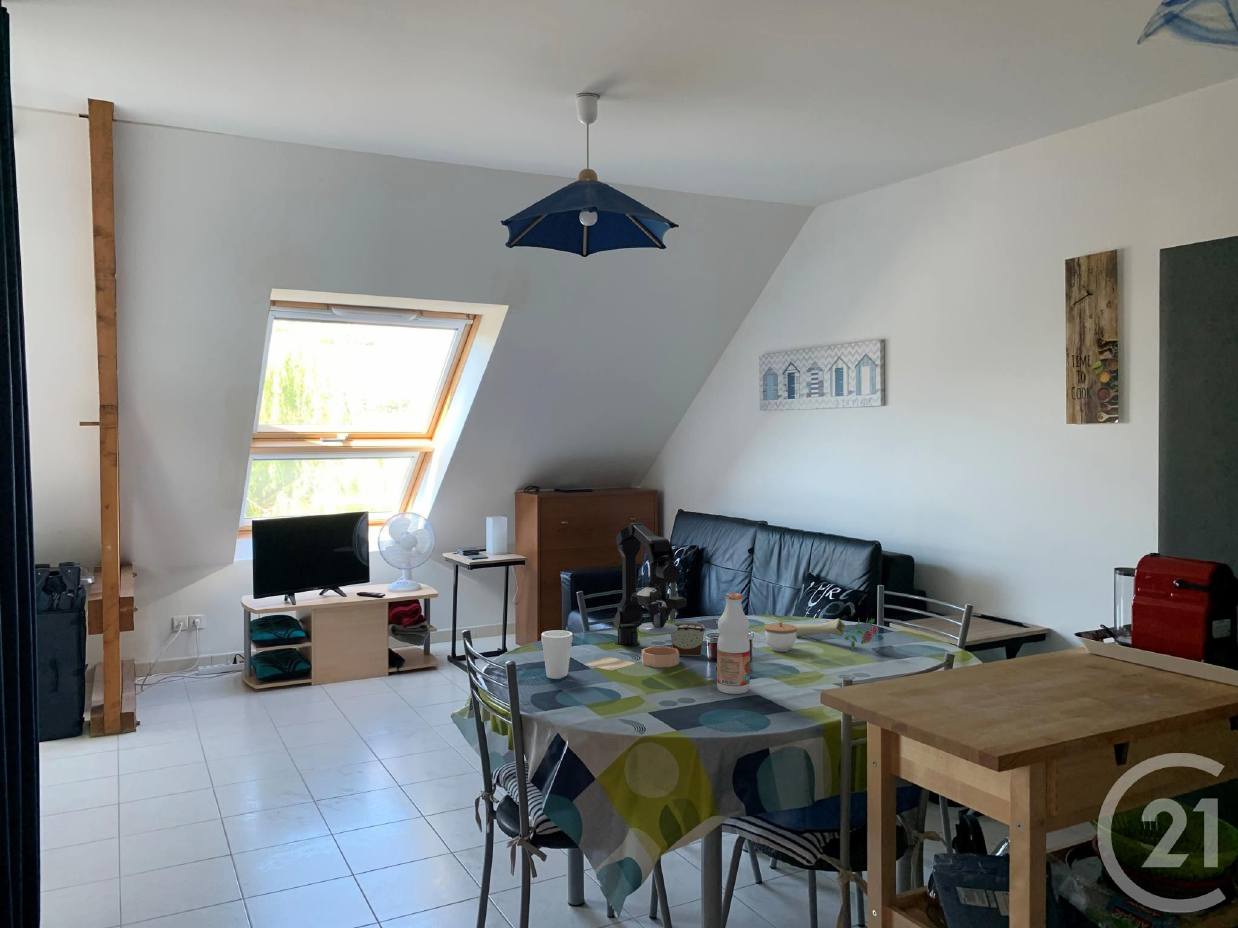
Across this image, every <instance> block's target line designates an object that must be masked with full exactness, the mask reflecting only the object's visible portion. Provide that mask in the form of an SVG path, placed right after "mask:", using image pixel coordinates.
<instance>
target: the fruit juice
mask: <svg viewBox="0 0 1238 928" xmlns="http://www.w3.org/2000/svg"><path fill="white" fill-rule="evenodd" d="M724 598H725V601H726V602H725V603H726V604H725V607H724V610H723V613H722V614H721V616H720V618H719V619H718V621H717V629H718V632H719V633H718V634H719V636H718V638H717V645H716V653H717V654H716V655H717V656H716V659H717V660H716V664H717V665H716V687H717V690H718V691H719V692H721V693H724V694H728V695H740V694H746V693H747V692H749V691H750V687H751V686H750V685H751V684H750V681H751V680H750V675H751V673H750V672H751V670H750V668H751V666H750V665H751V662H750V660H751V659H750V656H751V655H750V654H751V651H750V650H751V646H750V645H751V643H750V638H749V631H750V621H749V619H748V617H747V616H746V615H745V613H744V609H743V606H742V601H743V594H742V593H740V592H739V593H738V592H737V593H736V592H728V593H726V594H725V596H724Z"/></svg>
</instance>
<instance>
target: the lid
mask: <svg viewBox="0 0 1238 928" xmlns="http://www.w3.org/2000/svg"><path fill="white" fill-rule="evenodd" d="M673 624H674V623H667V622H666V623H665V625H664V627H661V625H660V613H658V614H654V626H653V624H652V622H649V623H648V622H647V623H643V624H641V625H640V626H639V627H638V631H639V632H640V633H642V634H647V635H652V636H653V635H657V636H661V635H664V636H665V635H671V634H672V633H675V632H677V631H678V627H677V626H676V625H673Z"/></svg>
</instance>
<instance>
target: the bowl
mask: <svg viewBox="0 0 1238 928" xmlns="http://www.w3.org/2000/svg"><path fill="white" fill-rule="evenodd" d="M641 663H642V665H643V666H647V667H651V668H672V667H674V666H677V665H679V664H680V655H679V651H678V650H677V649H676V648H672V646H665V645H664V646H663V645H662V646H649V647H648V646H647V647H646V648H645V647H644V648H643V649H641Z"/></svg>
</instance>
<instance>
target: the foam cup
mask: <svg viewBox="0 0 1238 928" xmlns="http://www.w3.org/2000/svg"><path fill="white" fill-rule="evenodd" d="M540 635H541V638H540V639H541V641H540V642H541V643H542V651H543V658H544V659H543V660H544V665H545V673H546V677H547V678H549V679H554V680H555V679H556V680H558V679H559V680H560V679H563V678H564V677H566V676H568V674H569V667H570V659H571V651H572V642H573V641H574V640H573V637H574V636H573V632H571V631H567V630H563V629H562V630H560V629H559V630H553V629H552V630H547V631H546V630H545V631H543V632H542V633H541V634H540Z"/></svg>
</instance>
